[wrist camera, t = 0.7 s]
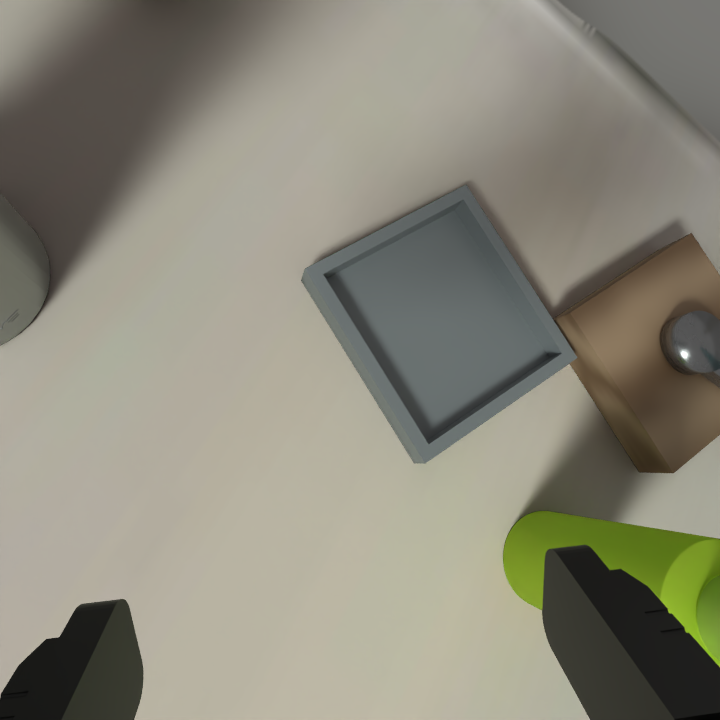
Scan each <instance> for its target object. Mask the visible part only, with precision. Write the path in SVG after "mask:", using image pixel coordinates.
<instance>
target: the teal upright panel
mask: <svg viewBox="0 0 720 720" xmlns="http://www.w3.org/2000/svg"><path fill="white" fill-rule="evenodd" d="M661 348H662V352H663V355H664V357H665V359H666V360H667V362H668V363H669V364H670V365H671V366H672V367H673V368H674V369H675V370H677V371H678V372H680V373H682V374H685V375H697V374H701V375H702V376H704V377H705V378H706V379H708V380H709V381H711V382H712V383H713V384H715V385H716V386H717V387H719V388H720V320H719V319H718V318H717V317H715V316H714V315H712V314H710V313H708V312H705V311H693V312H690V313H687V314H684V315H681V316H678V317H675V318H673V319H671V320H669V321H668V322H667V323H666V324H665V326H664V328H663V330H662V333H661Z"/></svg>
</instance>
